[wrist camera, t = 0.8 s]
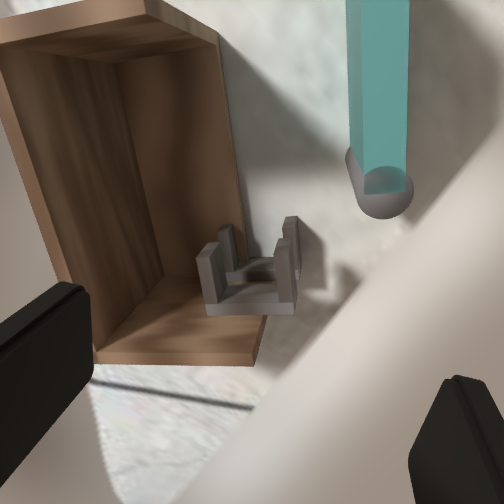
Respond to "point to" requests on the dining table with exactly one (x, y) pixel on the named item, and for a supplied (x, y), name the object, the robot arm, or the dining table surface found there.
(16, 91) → the cabinet
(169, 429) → the dining table surface
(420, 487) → the robot arm
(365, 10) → the door
